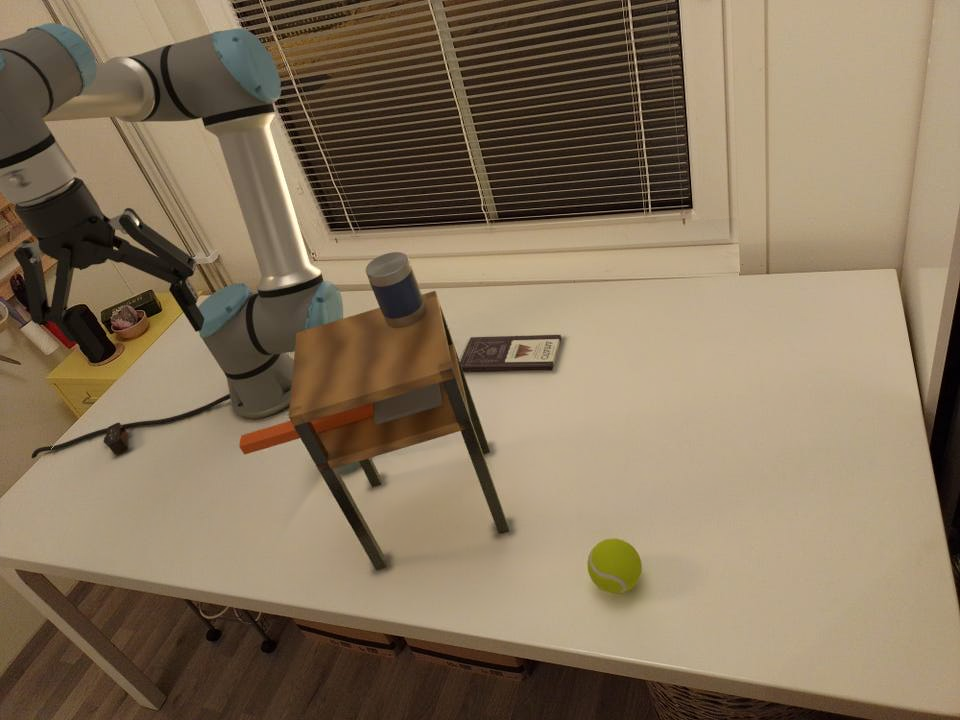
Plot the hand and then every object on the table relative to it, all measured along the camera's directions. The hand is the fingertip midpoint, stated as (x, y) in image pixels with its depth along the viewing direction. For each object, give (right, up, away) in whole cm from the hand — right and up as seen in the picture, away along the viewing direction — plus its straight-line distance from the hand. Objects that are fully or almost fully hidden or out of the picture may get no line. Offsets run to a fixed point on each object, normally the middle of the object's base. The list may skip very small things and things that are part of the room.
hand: (149, 341), depth 89 cm
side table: (+35, -25, +18) cm, 47 cm away
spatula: (+24, -10, +3) cm, 26 cm away
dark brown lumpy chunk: (-30, -20, +51) cm, 63 cm away
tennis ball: (+60, -31, +1) cm, 67 cm away
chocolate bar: (+48, -2, +42) cm, 64 cm away
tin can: (+32, +4, +4) cm, 33 cm away
